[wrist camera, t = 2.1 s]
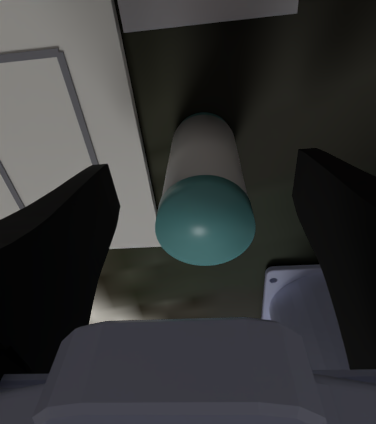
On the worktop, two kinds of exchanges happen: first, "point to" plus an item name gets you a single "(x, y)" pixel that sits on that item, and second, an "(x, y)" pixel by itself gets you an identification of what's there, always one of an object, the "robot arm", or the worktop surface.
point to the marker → (204, 195)
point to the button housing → (196, 12)
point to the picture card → (70, 109)
